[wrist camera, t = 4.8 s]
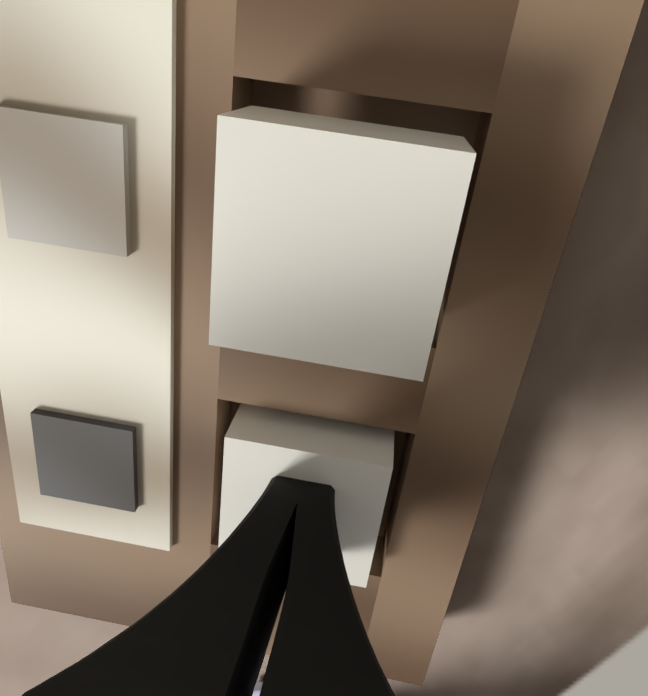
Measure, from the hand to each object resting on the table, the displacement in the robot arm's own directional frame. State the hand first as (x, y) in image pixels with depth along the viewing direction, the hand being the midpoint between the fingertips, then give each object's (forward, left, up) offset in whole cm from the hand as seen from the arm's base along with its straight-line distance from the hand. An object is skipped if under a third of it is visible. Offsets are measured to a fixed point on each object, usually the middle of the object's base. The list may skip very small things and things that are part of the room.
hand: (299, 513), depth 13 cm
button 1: (0, 0, -2) cm, 2 cm away
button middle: (+6, 0, -1) cm, 7 cm away
